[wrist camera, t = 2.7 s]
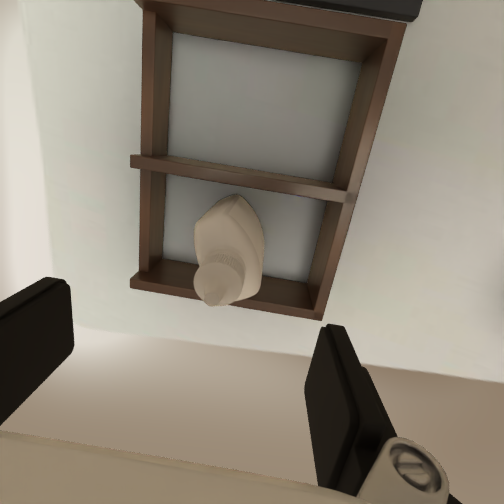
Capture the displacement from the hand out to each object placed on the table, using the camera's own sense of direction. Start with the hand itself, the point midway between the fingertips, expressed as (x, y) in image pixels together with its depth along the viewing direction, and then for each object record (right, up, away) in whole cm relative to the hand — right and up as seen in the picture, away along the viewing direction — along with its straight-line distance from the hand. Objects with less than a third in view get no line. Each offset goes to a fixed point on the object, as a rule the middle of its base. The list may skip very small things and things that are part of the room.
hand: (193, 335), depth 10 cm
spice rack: (+2, +9, +12) cm, 15 cm away
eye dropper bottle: (+1, +5, +13) cm, 14 cm away
